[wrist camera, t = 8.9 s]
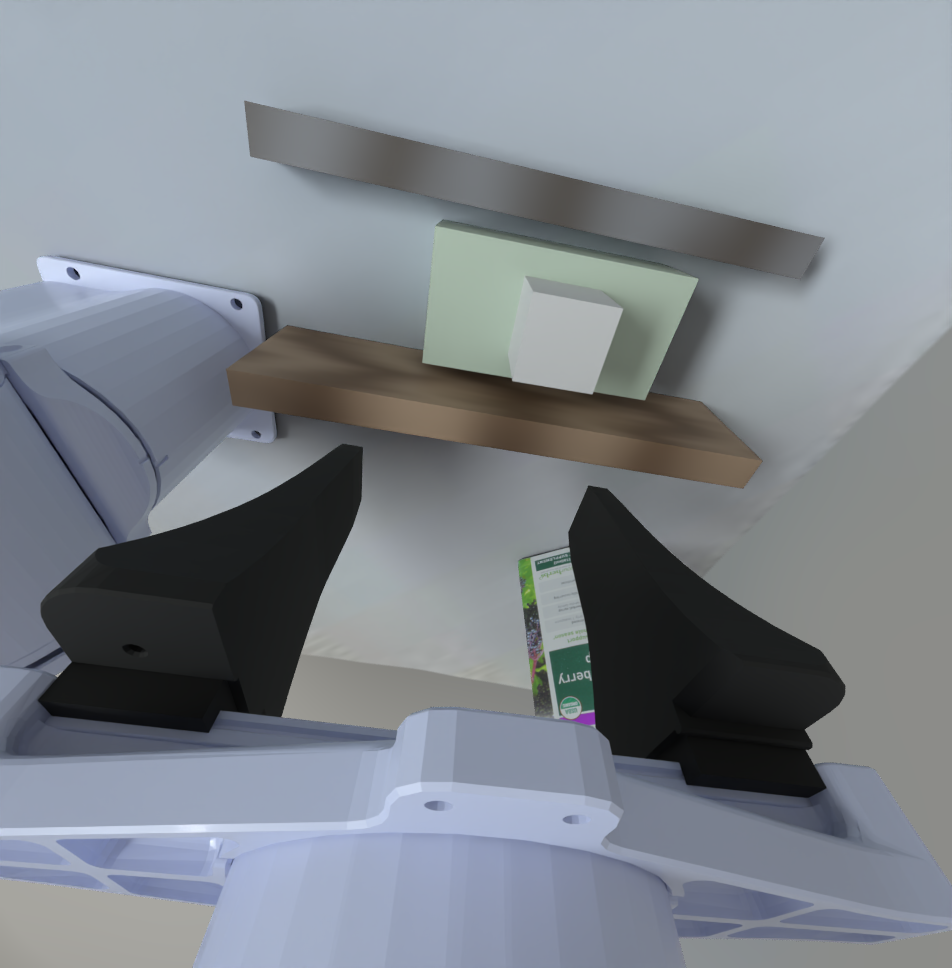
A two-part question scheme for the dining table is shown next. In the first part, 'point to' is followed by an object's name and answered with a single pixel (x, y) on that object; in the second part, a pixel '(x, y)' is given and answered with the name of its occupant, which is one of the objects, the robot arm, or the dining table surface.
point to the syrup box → (556, 638)
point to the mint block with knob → (550, 311)
